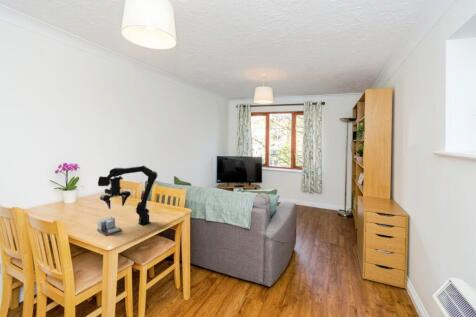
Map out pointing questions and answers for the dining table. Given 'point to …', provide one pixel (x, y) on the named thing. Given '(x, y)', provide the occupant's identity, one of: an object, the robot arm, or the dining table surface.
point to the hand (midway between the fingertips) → (116, 207)
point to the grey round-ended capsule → (110, 224)
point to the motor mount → (103, 227)
